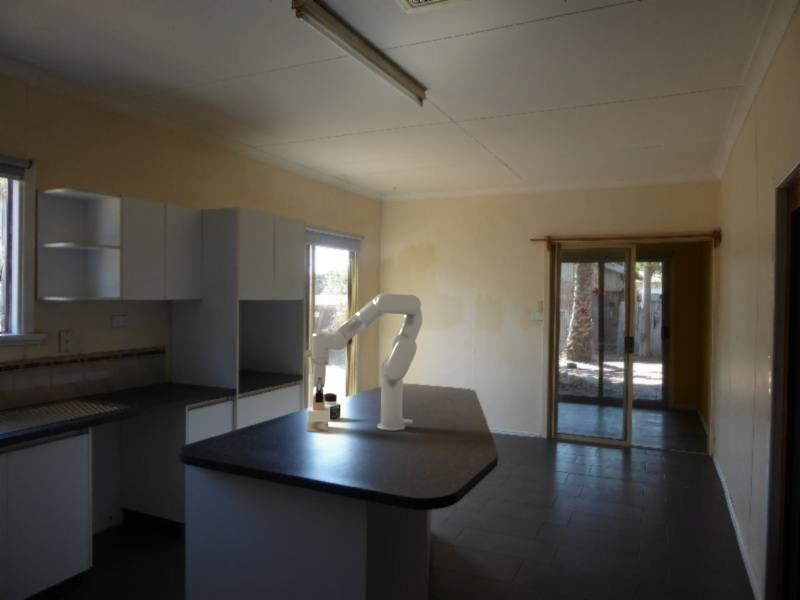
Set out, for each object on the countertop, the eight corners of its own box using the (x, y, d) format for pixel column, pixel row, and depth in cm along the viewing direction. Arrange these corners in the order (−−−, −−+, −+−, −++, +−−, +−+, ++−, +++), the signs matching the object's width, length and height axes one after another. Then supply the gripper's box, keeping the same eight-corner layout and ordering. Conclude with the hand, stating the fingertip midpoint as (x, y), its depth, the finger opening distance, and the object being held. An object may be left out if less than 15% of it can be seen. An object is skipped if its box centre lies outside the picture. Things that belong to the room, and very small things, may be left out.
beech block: (327, 427, 250) (328, 417, 250) (328, 432, 241) (328, 421, 241) (307, 427, 248) (307, 417, 248) (306, 432, 239) (307, 421, 239)
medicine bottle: (329, 421, 259) (330, 395, 259) (318, 419, 263) (319, 393, 263) (340, 419, 265) (341, 393, 265) (329, 416, 269) (330, 391, 269)
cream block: (328, 416, 250) (328, 406, 250) (329, 421, 241) (329, 411, 241) (307, 417, 248) (307, 407, 248) (307, 421, 239) (308, 411, 239)
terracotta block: (324, 407, 247) (324, 394, 247) (324, 410, 242) (324, 396, 242) (313, 407, 247) (313, 394, 247) (312, 410, 242) (313, 396, 242)
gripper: (311, 358, 252) (311, 396, 253) (310, 363, 235) (310, 404, 236) (328, 358, 253) (328, 396, 254) (328, 363, 236) (328, 404, 236)
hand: (319, 400), depth 245 cm, fingers open, 9 cm apart
